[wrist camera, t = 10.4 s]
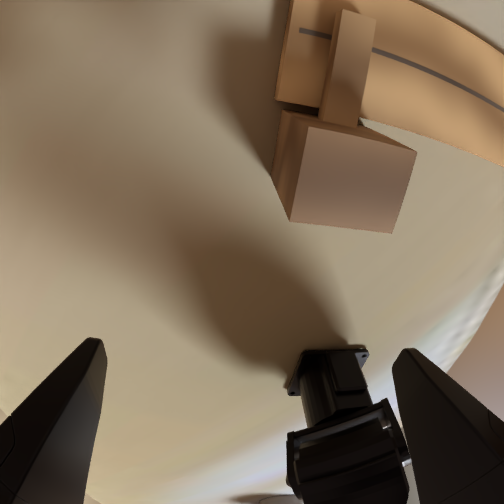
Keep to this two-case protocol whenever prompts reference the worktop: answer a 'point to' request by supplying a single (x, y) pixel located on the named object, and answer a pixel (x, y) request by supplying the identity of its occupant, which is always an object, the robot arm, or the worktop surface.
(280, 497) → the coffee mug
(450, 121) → the plank
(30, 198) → the worktop surface
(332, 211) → the brown block with bar
